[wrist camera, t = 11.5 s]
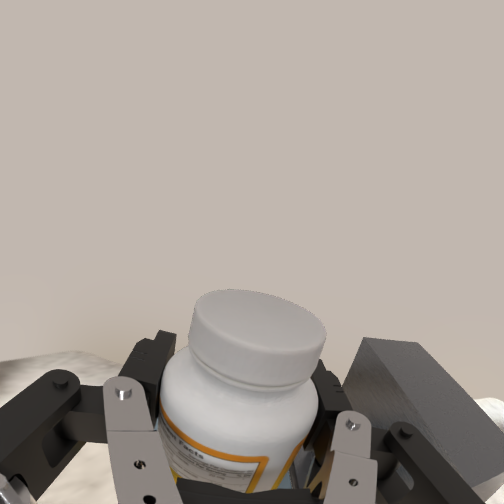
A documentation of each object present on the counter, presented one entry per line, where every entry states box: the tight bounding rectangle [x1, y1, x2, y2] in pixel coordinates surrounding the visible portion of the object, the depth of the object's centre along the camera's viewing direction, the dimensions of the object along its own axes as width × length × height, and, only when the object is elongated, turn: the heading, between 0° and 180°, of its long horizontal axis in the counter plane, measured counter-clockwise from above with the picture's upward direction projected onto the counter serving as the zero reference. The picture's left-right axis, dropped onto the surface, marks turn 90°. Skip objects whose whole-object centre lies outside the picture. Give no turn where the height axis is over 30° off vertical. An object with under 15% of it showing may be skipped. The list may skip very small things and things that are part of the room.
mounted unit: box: [289, 337, 504, 504], centre depth 17 cm, size 10×20×16 cm, turn 3°
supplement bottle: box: [157, 289, 326, 493], centre depth 10 cm, size 5×5×10 cm
